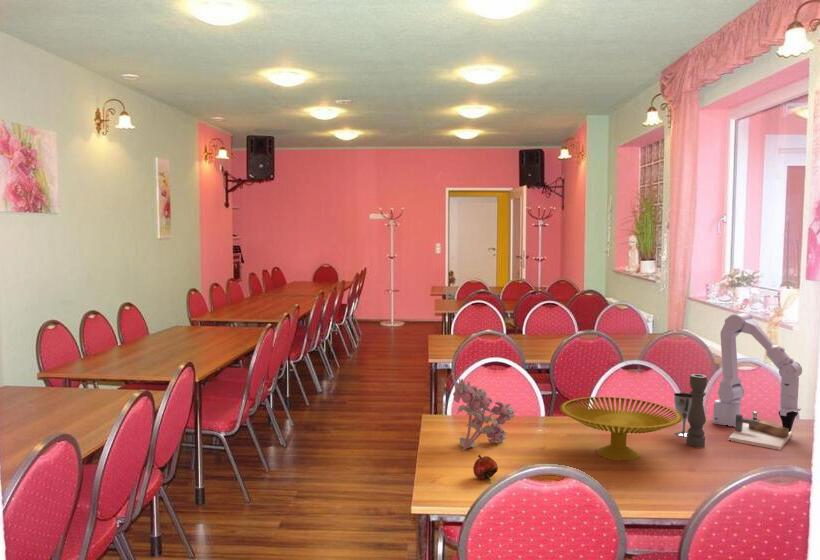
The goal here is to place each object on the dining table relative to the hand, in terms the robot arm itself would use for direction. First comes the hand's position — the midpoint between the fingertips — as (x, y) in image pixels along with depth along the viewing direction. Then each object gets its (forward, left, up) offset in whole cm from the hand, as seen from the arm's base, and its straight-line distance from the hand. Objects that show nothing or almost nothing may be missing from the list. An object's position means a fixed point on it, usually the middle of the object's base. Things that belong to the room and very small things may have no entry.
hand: (787, 431), depth 263 cm
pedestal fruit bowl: (-42, -58, -3) cm, 71 cm away
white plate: (-8, -6, -2) cm, 10 cm away
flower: (-83, -78, -3) cm, 114 cm away
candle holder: (-24, -31, -3) cm, 39 cm away
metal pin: (-11, 0, +2) cm, 11 cm away
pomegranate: (-65, -107, -3) cm, 125 cm away
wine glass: (-31, -21, -3) cm, 37 cm away
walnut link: (-6, -2, -1) cm, 7 cm away
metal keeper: (-12, -7, -1) cm, 14 cm away
